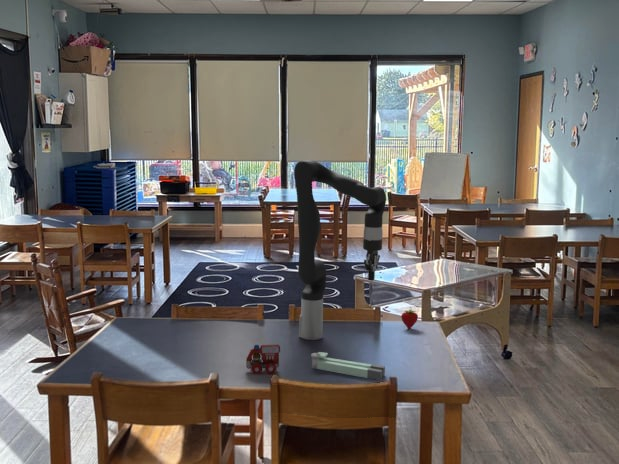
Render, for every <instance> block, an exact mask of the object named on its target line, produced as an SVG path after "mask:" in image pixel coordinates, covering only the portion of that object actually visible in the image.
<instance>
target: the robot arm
mask: <svg viewBox="0 0 619 464" xmlns="http://www.w3.org/2000/svg"><path fill="white" fill-rule="evenodd" d="M293 175H294V183H295V184H294V185H295V189H296V190H295V191H296V201H297V202H296V203H297V205H296V206H297V225H298V226H297V227H298V251H299V252H298V267H297V269H298V270H297V271H298V272H297V273H298V278H299V279H300V281H301V283H303V284H304V285H305V286H304V288H303V289H302V291H301V297H300V299H301V302H300V303H301V306H300V307H301V308H300V311H301V312H300V315H298V316H299V318H298V322H299V323H298V337H299V338H301V339H303V340H306V341H318V340H321V339H323V326H324V325H323V321H324V318H323V317H324V315H323V314H324V294H325V292H326V285H327V268H326V265H325V263H324V262H323V261H322V260H320V259H315V250H316V245H317V243H318V239H319V236H320V233H321V213H320V210H319V208H318V206H317V203H316V201H315V199H314V194H313V183H315V182H316V183H320V184H325V185H328V186H330V187H332V188H333V189H334V190H335V191H337V192H338V193H341V194H343V195H345V196H348V197H350V198H354V199H355V200H356V201H358V202H360V203H362V205H363V204H364V205H365V206H368V210H367V211H366V213H365V214H364V225H363V226H364V227H363V240H362V241H363V242H362V244H363V245H362V249H363V250H365V251H366V255H365V259H364V260H363V263H364V266H365V270H366V272H367V273H368V275H367V279H368V281H371V282H372V281H375V275H376V269H378V266H379V261H380V258H381V255H380V254H379V251H382V249H383V236H384V234H383V232H384V231H383V216H384V215H383V214H384V211H385V207H386V203H387V193H386V191H385V190H384V189H383V187H380V186H375V187H368V186H366V185H364V183H363V182H362V181H359V180H357V179H354V178H352V177H349V176H346V175H344V174H341V173H338V172H336V171H334V170H332V169H330V168H328V167H326V166H325V165H323V164H321V163H320V162H318V161H316V160H314V159H306V160H299V161H298V162H296V164H295V166H294V170H293Z"/></svg>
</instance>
